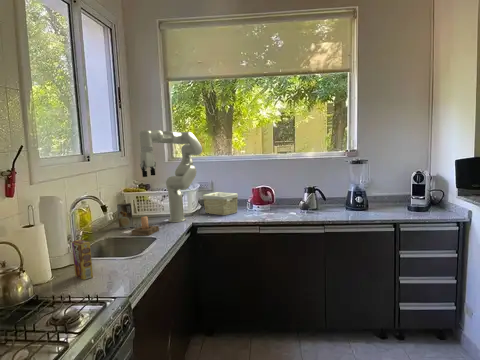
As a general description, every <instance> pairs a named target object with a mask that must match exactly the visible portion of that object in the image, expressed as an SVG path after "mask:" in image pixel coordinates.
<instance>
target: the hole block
mask: <svg viewBox="0 0 480 360" xmlns="http://www.w3.org/2000/svg"><path fill="white" fill-rule="evenodd" d="M148 228H149V229H142V225H141V226H139V227H136V228H134V229H133V228H132V229H131V230H130V231H131V236H151V235H153V234H155V233H157V232H159V231H160V227H159V225H148Z"/></svg>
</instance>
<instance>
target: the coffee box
mask: <svg viewBox="0 0 480 360" xmlns="http://www.w3.org/2000/svg"><path fill="white" fill-rule="evenodd" d="M116 209H117V215H118V216H117V217H118V226H119V228H118V229H120V228H125V229H131V228H130V227H133V228H134V218H133V210H132V209H133V208H132V203H131V202H128V203H120V204H119V203H118V204H117V206H116Z"/></svg>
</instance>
